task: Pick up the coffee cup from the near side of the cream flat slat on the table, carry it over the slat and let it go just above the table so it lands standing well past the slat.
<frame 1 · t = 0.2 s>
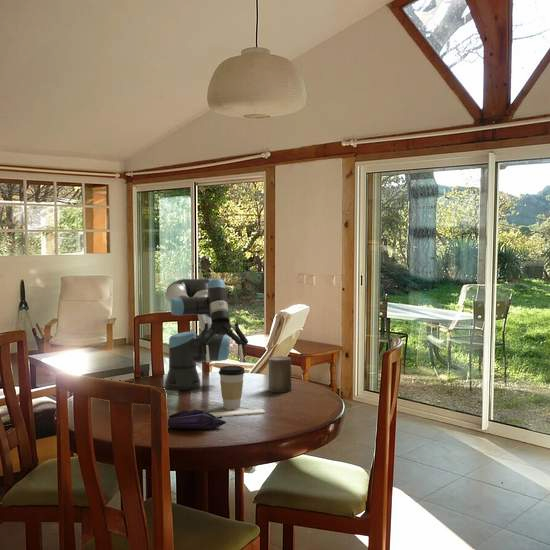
hand: (225, 361, 242), 16 cm above the table, tool tilted 35°, fingers open, 13 cm apart
crystal: (195, 429, 207), on the table
coffee cup: (231, 407, 234), on the table
cream flat slat: (231, 414, 223), on the table
pillar candle: (279, 390, 261), on the table
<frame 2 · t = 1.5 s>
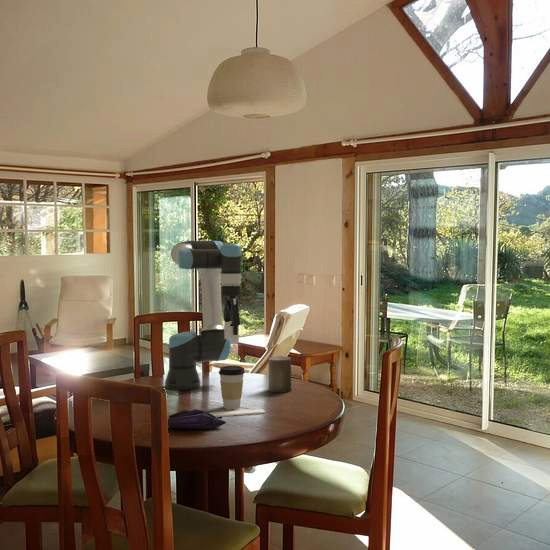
hand: (231, 341, 233), 25 cm above the table, tool pointing down, fingers open, 13 cm apart
nothing on the table moved.
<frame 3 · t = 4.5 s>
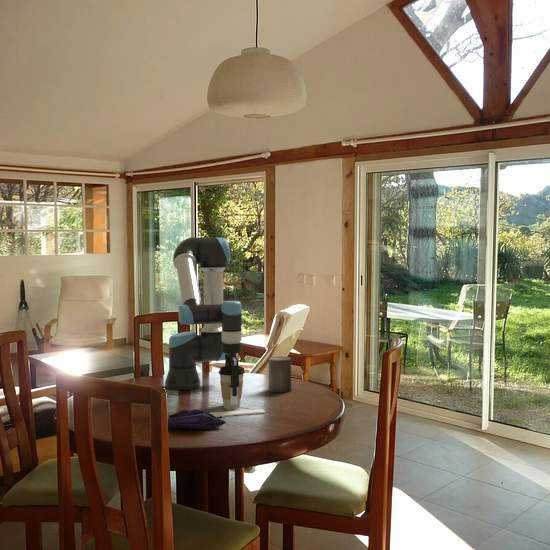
hand: (231, 401, 234), 2 cm above the table, tool pointing down, fingers closed on coffee cup, 9 cm apart
coffee cup: (231, 407, 234), on the table, touching gripper
everything else where it was.
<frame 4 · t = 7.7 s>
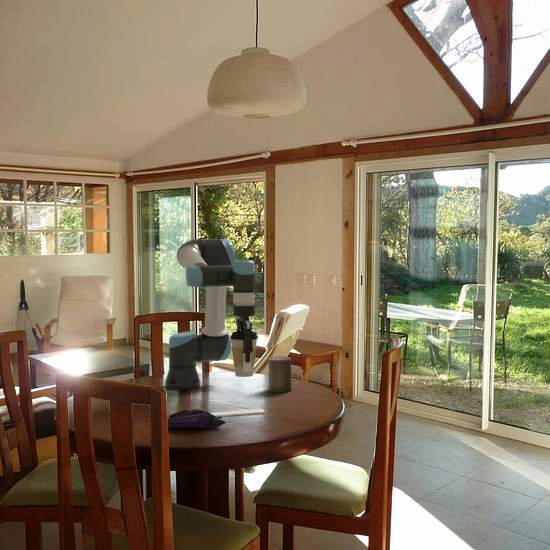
hand: (244, 369, 216), 18 cm above the table, tool pointing down, fingers closed on coffee cup, 9 cm apart
coffee cup: (244, 375, 216), point 16 cm above the table, touching gripper
everything else where it was.
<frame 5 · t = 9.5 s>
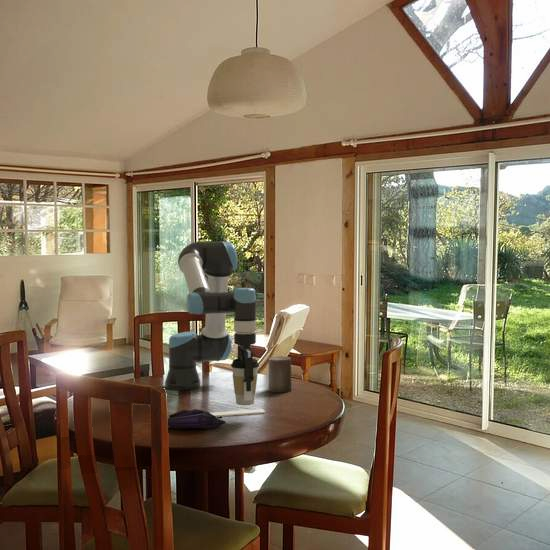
hand: (245, 396, 215), 8 cm above the table, tool pointing down, fingers closed on coffee cup, 9 cm apart
coffee cup: (245, 403, 215), point 6 cm above the table, touching gripper
everything else where it was.
when the fingers open (5 cm above the table, at t = 11.1 s): coffee cup drops 1 cm, point 1 cm above the table.
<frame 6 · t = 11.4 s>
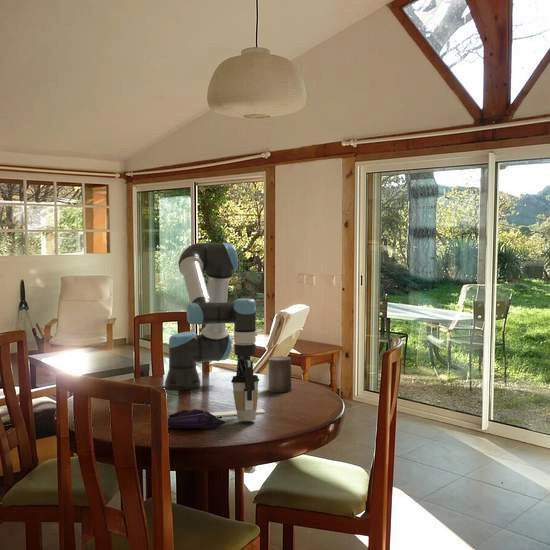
hand: (245, 405, 215), 5 cm above the table, tool pointing down, fingers open, 12 cm apart
coffee cup: (246, 420, 213), point 1 cm above the table, touching gripper
everything else where it was.
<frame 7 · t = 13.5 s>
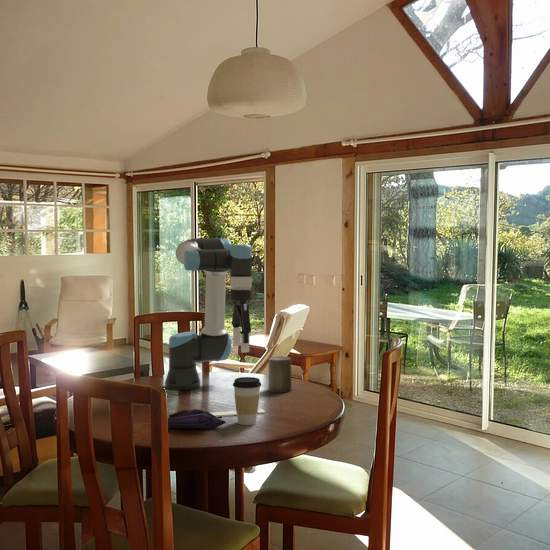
hand: (240, 349, 217), 25 cm above the table, tool pointing down, fingers open, 13 cm apart
coffee cup: (247, 423, 213), on the table
everything else where it was.
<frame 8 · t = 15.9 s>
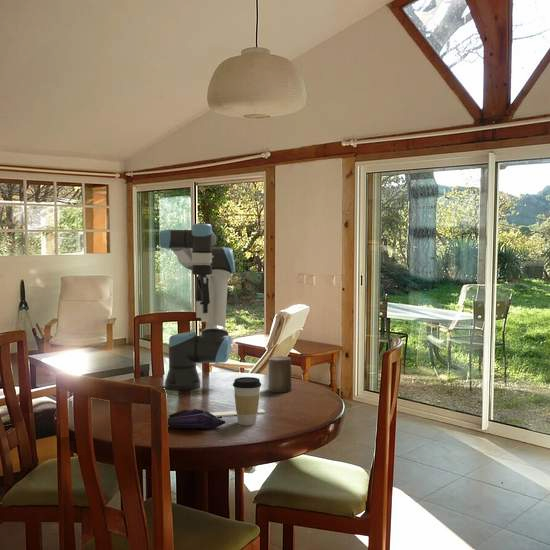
hand: (202, 319, 236), 33 cm above the table, tool pointing down, fingers open, 13 cm apart
nothing on the table moved.
at the end: coffee cup inside the target area (0.9 cm from its centre), on the table; coffee cup tilted 0°; the gripper is holding nothing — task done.
